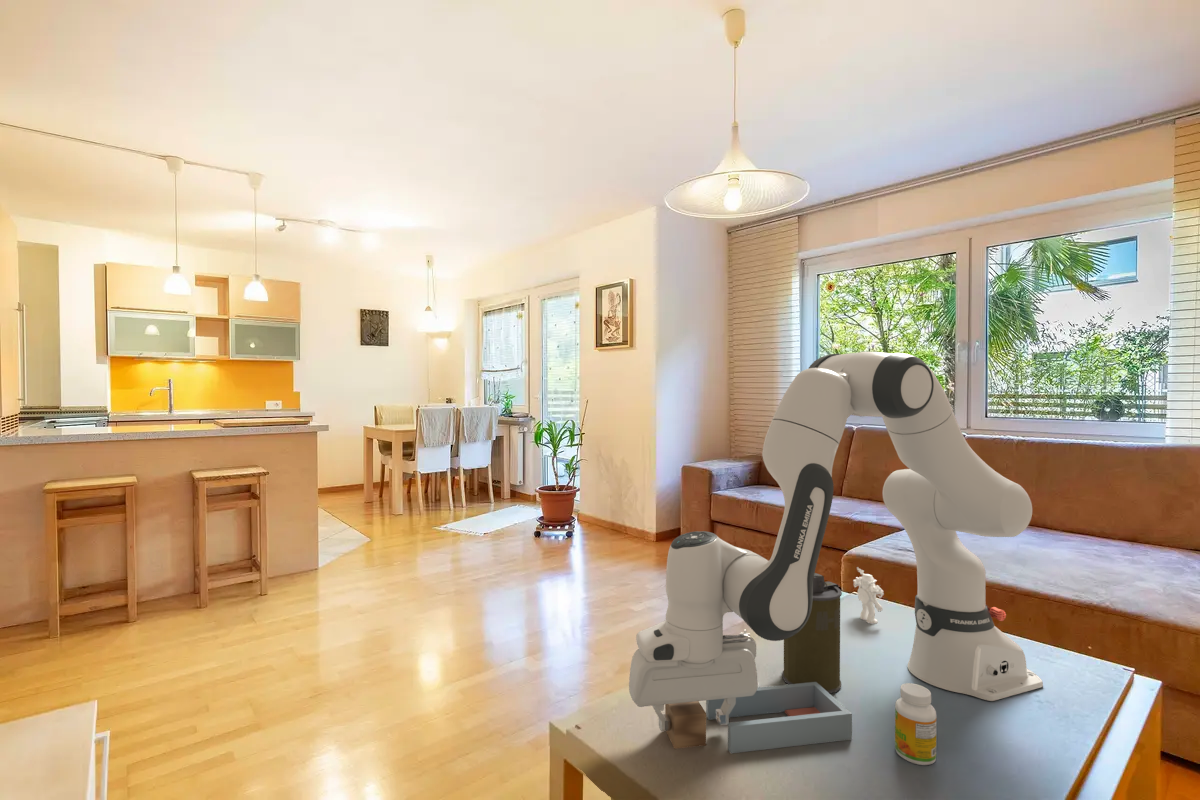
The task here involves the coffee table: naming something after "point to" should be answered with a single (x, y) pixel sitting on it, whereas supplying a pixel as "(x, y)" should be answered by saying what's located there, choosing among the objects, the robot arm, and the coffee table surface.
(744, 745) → the channel
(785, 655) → the canister
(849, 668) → the coffee table surface
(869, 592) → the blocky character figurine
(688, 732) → the walnut cube
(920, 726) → the supplement bottle
